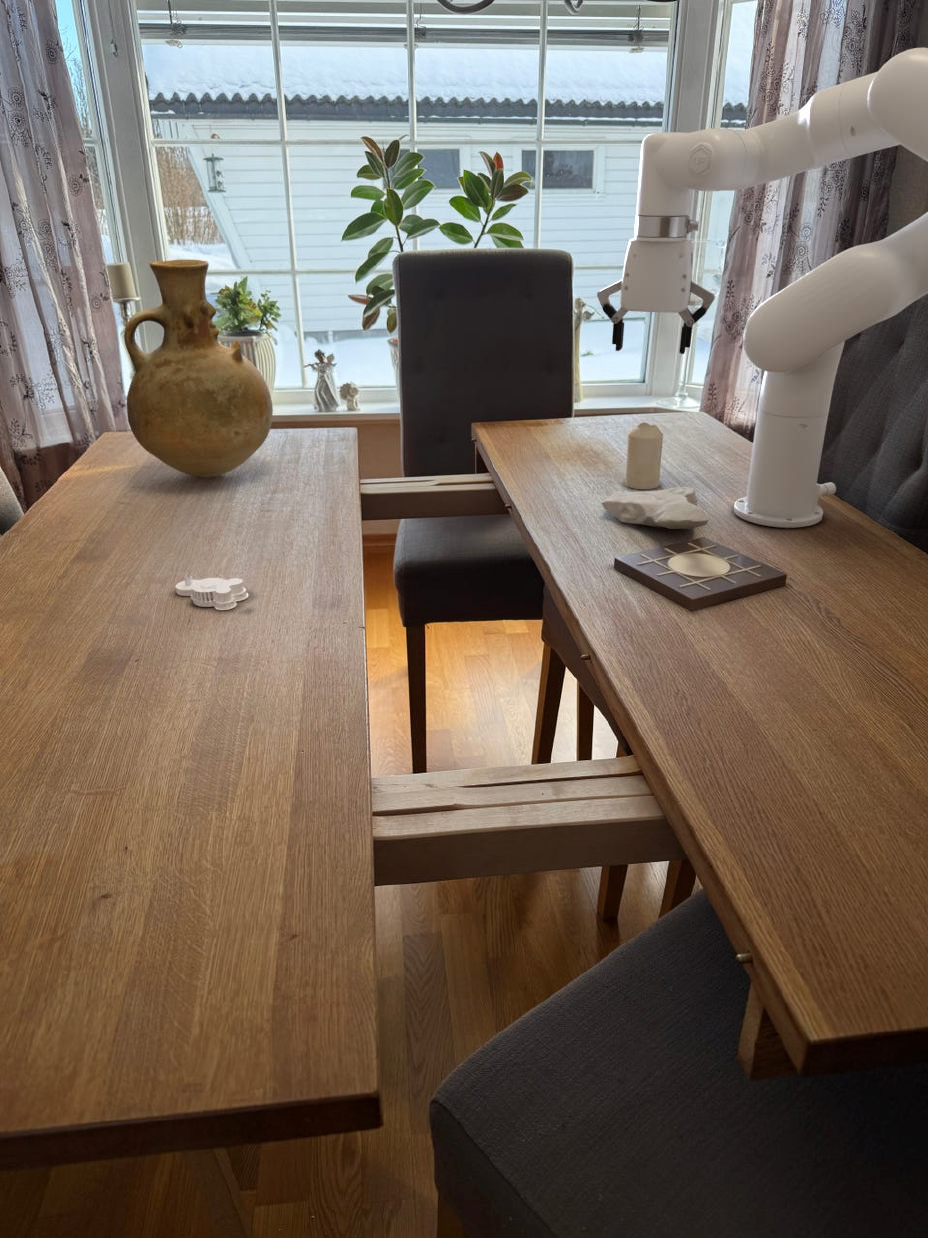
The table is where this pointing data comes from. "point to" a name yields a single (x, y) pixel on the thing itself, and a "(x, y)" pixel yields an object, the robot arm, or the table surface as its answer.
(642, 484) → the candle
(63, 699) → the table surface
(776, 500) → the robot arm
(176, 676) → the table surface
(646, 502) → the rock
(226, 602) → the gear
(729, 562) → the board
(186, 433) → the vase
